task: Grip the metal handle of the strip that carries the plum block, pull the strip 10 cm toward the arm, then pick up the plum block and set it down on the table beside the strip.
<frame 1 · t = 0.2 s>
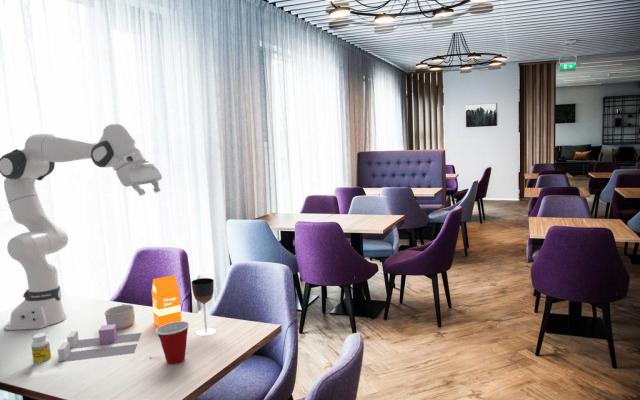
hand: (150, 193, 187), 54 cm above the table, tool tilted 30°, fingers open, 8 cm apart
teacup: (122, 327, 198), on the table
empty strip: (98, 348, 170), point 3 cm above the table, slide at 0.0 cm
orange juice: (168, 326, 197), on the table
plum block: (108, 340, 181), point 1 cm above the table, touching cube strip
cube strip: (105, 336, 181), point 3 cm above the table, slide at 0.0 cm, touching plum block
plastic cup: (175, 361, 164), on the table
wineglass: (206, 332, 189), on the table
supplement bottle: (42, 362, 167), on the table
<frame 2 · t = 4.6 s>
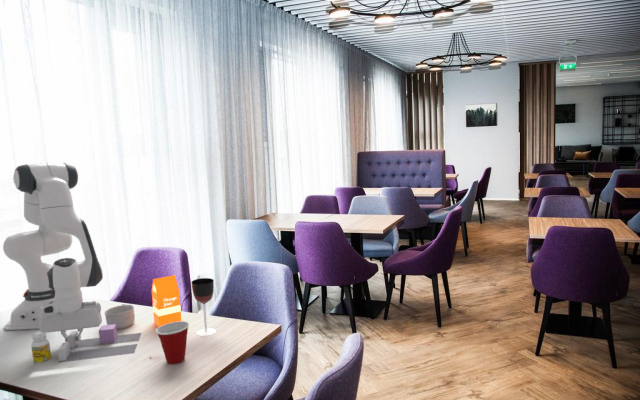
hand: (73, 340, 179), 3 cm above the table, tool pointing down, fingers closed on cube strip, 2 cm apart
cube strip: (105, 336, 181), point 3 cm above the table, slide at 0.0 cm, touching gripper, plum block
everything else where it was.
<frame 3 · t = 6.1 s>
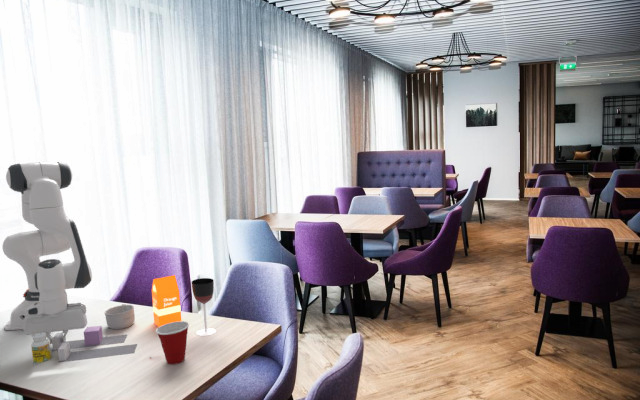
hand: (57, 342, 178), 3 cm above the table, tool pointing down, fingers closed on cube strip, 2 cm apart
plum block: (94, 342, 180), point 1 cm above the table, touching cube strip
cube strip: (90, 338, 180), point 3 cm above the table, slide at 5.0 cm, touching gripper, plum block
everything else where it was.
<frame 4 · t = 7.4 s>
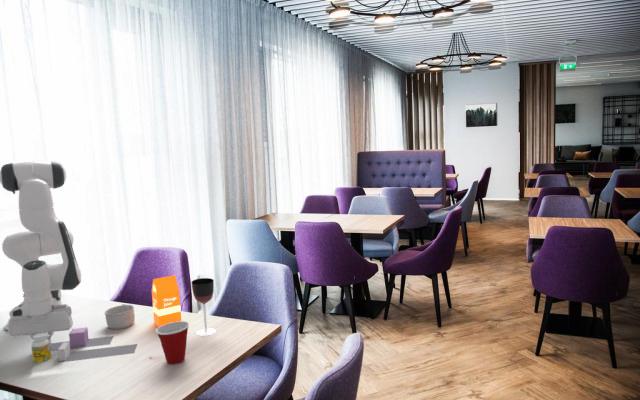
hand: (43, 344, 176), 3 cm above the table, tool pointing down, fingers closed on cube strip, 2 cm apart
plum block: (79, 343, 179), point 1 cm above the table, touching cube strip
cube strip: (76, 340, 179), point 3 cm above the table, slide at 9.9 cm, touching gripper, plum block
everything else where it was.
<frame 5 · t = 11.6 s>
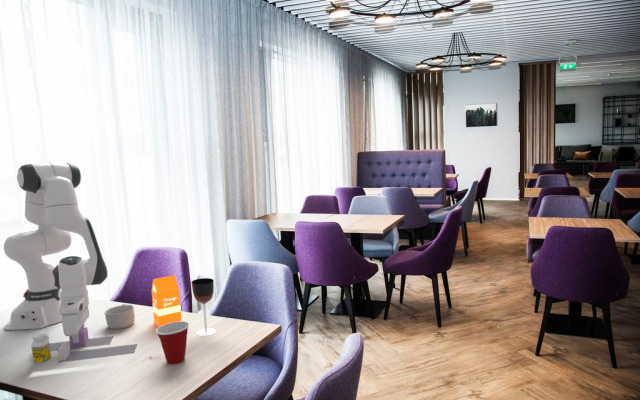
hand: (78, 338, 179), 3 cm above the table, tool pointing down, fingers closed on plum block, 5 cm apart
plum block: (79, 343, 179), point 1 cm above the table, touching cube strip, gripper
cube strip: (76, 340, 179), point 3 cm above the table, slide at 9.9 cm, touching plum block
everything else where it was.
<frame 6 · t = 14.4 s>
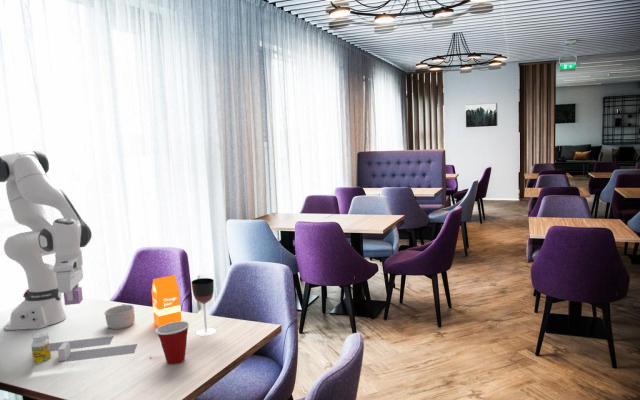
hand: (73, 297, 185), 16 cm above the table, tool pointing down, fingers closed on plum block, 5 cm apart
plum block: (73, 302, 186), point 14 cm above the table, touching gripper
cube strip: (76, 340, 179), point 3 cm above the table, slide at 9.9 cm
everything else where it was.
when the fingers open (4 cm above the table, at t = 17.0 s): plum block drops 2 cm, on the table.
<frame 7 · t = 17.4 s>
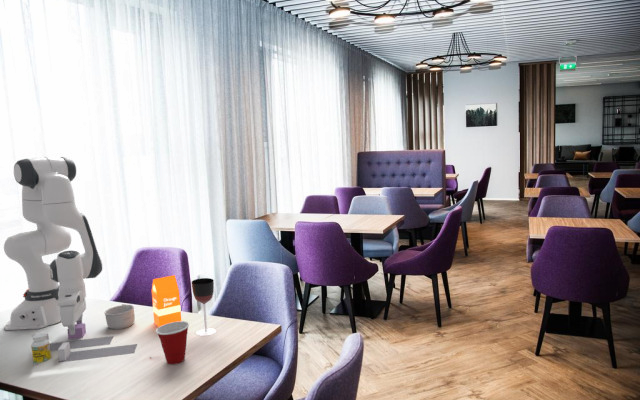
hand: (76, 329, 187), 4 cm above the table, tool pointing down, fingers open, 8 cm apart
plum block: (77, 338, 187), on the table
everything else where it was.
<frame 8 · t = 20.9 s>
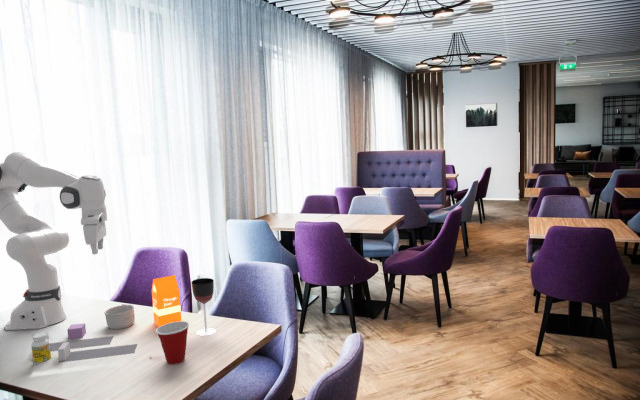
hand: (97, 251, 195), 31 cm above the table, tool pointing down, fingers open, 8 cm apart
nothing on the table moved.
at the end: cube strip slide at 9.9 cm; plum block inside the target area (0.1 cm from its centre), on the table; plum block tilted 0° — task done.
